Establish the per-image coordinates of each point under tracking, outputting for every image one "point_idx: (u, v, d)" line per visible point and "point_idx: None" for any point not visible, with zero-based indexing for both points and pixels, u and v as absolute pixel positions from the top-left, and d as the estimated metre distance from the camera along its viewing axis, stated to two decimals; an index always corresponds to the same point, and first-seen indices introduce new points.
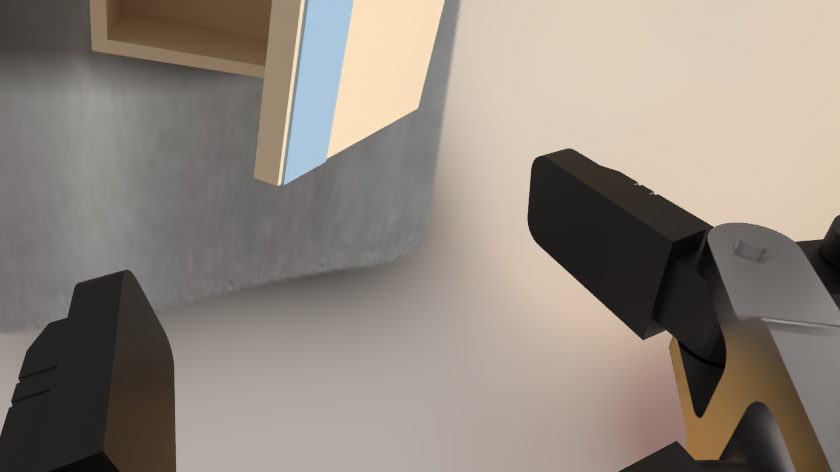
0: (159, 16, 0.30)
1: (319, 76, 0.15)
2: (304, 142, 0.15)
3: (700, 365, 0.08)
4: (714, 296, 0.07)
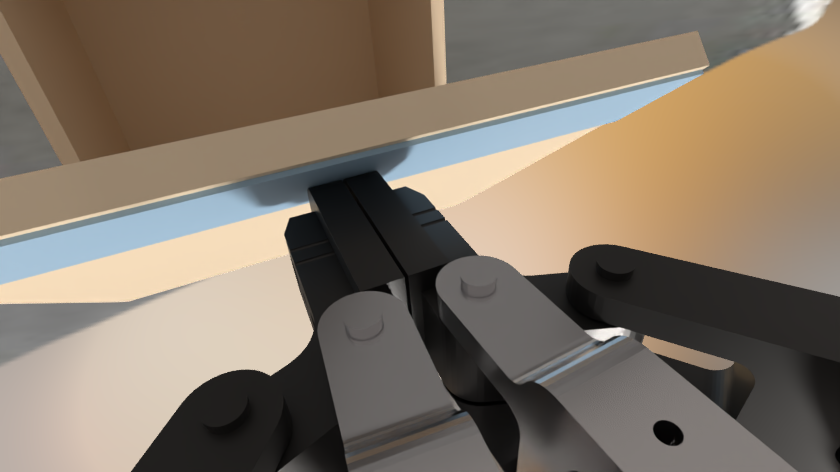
0: None
1: (57, 252, 0.08)
2: None
3: (482, 411, 0.07)
4: (474, 355, 0.06)
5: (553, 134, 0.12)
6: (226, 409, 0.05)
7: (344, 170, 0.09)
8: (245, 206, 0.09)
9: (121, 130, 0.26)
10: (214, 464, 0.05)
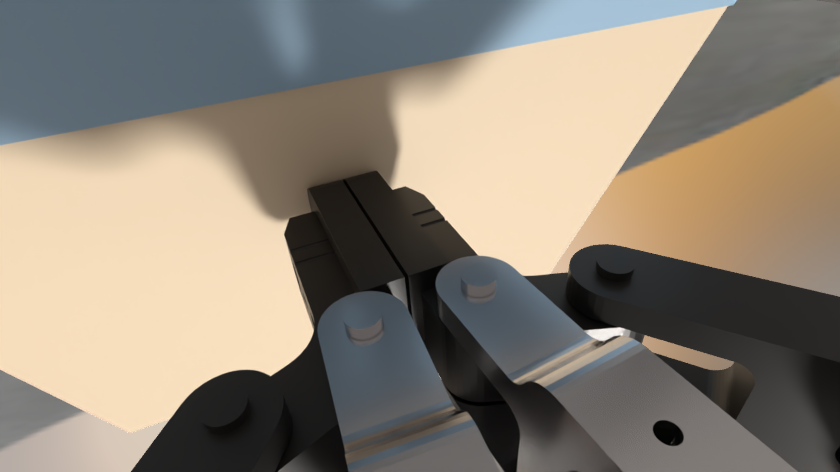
0: None
1: None
2: None
3: (482, 412, 0.07)
4: (474, 355, 0.06)
5: None
6: (227, 409, 0.05)
7: None
8: (207, 14, 0.06)
9: None
10: (214, 464, 0.05)
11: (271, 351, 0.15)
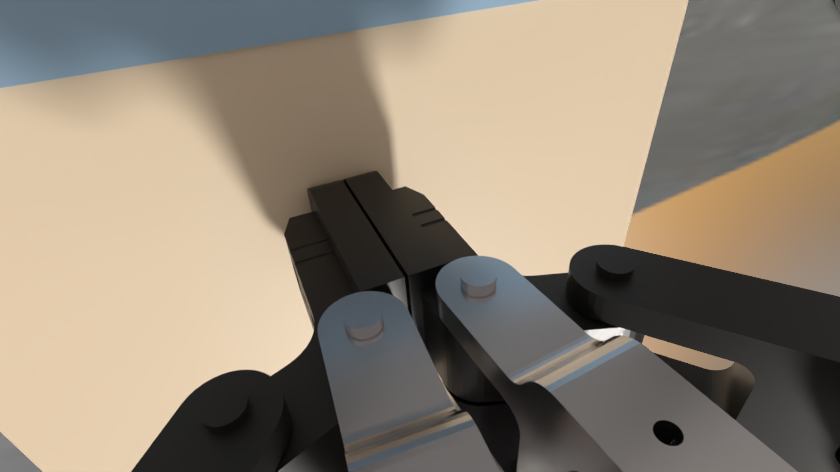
0: None
1: None
2: None
3: (482, 411, 0.07)
4: (473, 354, 0.06)
5: None
6: (226, 409, 0.05)
7: None
8: None
9: None
10: (214, 464, 0.05)
11: None
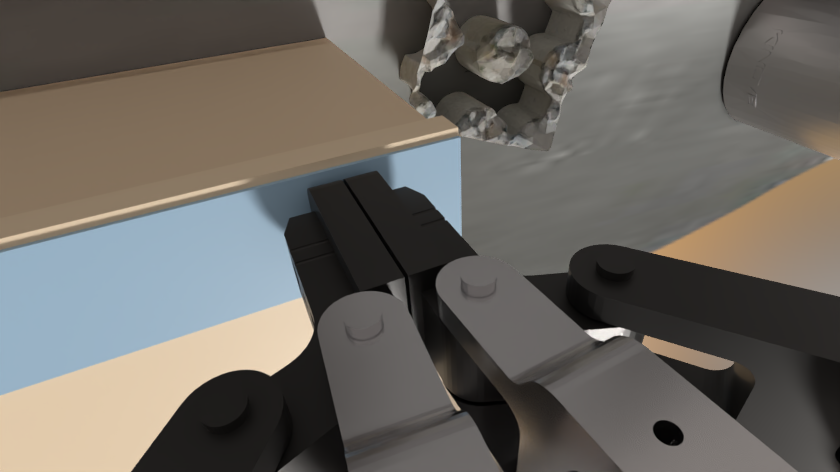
0: None
1: None
2: None
3: (482, 411, 0.07)
4: (474, 355, 0.06)
5: None
6: (226, 409, 0.05)
7: (53, 272, 0.09)
8: None
9: None
10: (214, 464, 0.05)
11: None
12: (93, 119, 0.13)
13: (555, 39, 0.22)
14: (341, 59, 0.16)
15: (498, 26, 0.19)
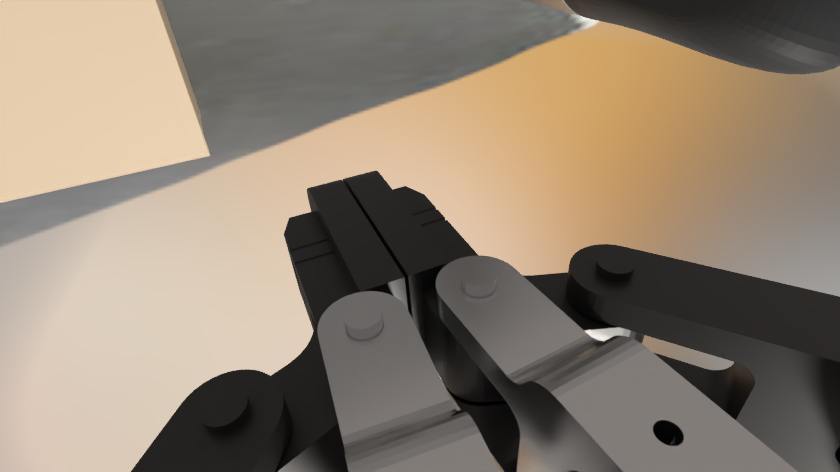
0: None
1: None
2: None
3: (482, 411, 0.07)
4: (473, 354, 0.06)
5: None
6: (226, 410, 0.05)
7: None
8: None
9: None
10: (215, 464, 0.05)
11: (6, 155, 0.30)
12: None
13: None
14: None
15: None
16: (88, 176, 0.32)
